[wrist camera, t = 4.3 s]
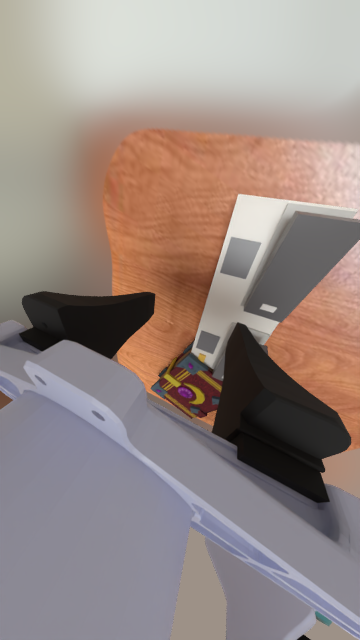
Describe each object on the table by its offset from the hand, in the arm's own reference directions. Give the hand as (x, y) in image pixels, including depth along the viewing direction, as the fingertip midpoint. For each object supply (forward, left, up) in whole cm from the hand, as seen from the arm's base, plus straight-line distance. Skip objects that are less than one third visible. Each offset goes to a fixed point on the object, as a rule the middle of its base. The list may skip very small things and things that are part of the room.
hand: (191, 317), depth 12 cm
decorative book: (-2, +19, -9) cm, 21 cm away
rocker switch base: (-4, +1, -9) cm, 10 cm away
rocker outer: (-6, -5, -5) cm, 9 cm away
